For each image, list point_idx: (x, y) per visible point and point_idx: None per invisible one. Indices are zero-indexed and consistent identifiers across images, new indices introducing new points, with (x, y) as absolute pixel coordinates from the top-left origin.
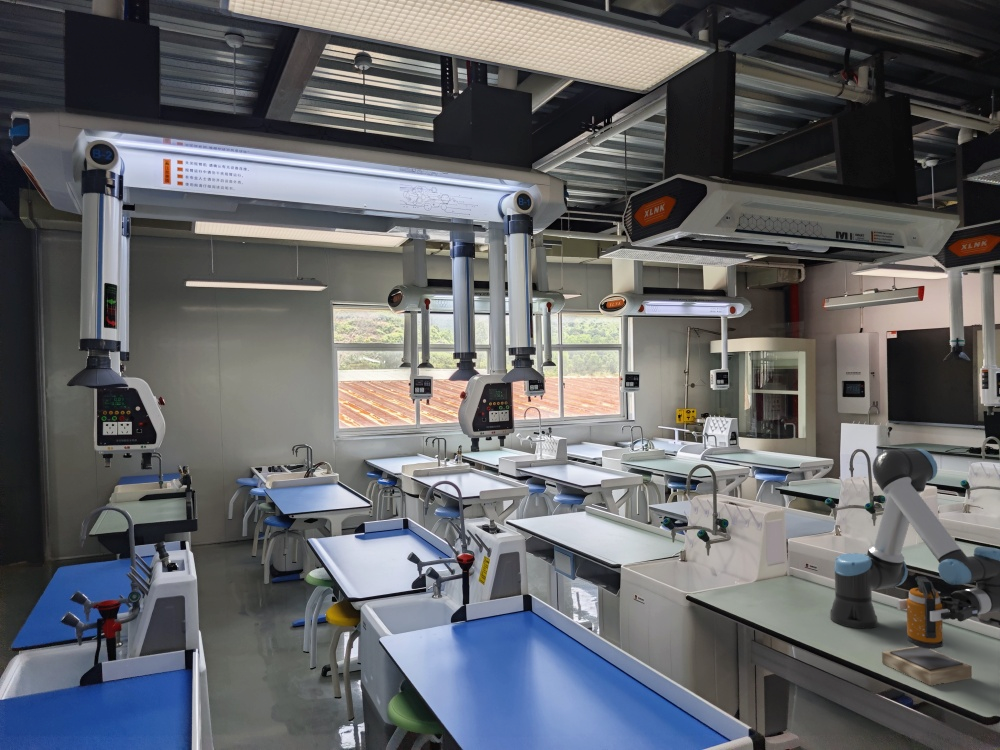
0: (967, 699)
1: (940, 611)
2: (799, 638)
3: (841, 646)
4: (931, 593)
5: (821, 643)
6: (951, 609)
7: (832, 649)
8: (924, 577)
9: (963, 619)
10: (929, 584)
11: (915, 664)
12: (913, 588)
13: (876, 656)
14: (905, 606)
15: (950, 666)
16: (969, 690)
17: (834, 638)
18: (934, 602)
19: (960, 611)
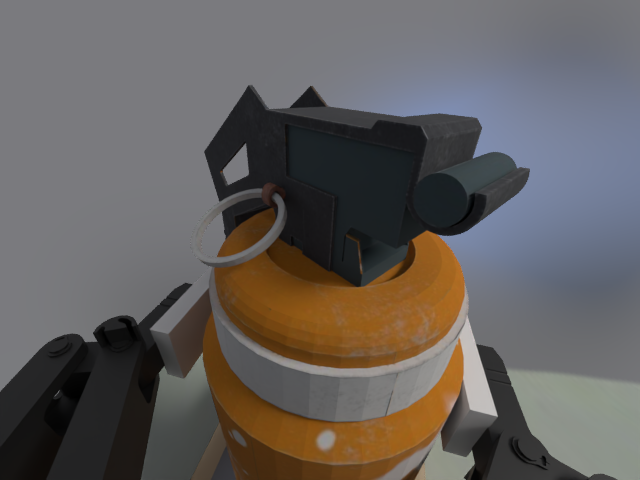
0: (166, 374)
1: (204, 276)
2: (633, 387)
3: (571, 443)
4: (256, 203)
5: (594, 408)
6: (127, 320)
7: (537, 391)
8: (402, 119)
9: (53, 401)
10: (276, 140)
11: None
12: (440, 244)
13: (468, 465)
14: None
15: (212, 478)
16: (158, 445)
17: None
18: (229, 225)
19: (44, 375)
